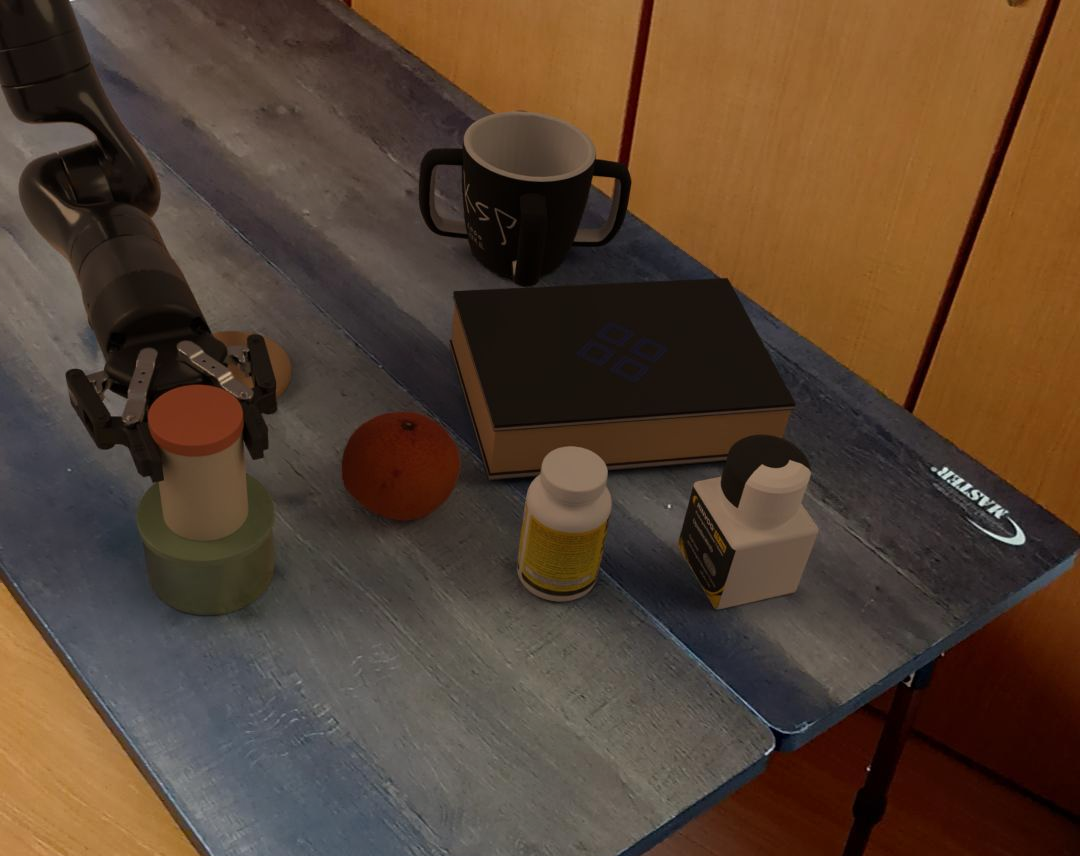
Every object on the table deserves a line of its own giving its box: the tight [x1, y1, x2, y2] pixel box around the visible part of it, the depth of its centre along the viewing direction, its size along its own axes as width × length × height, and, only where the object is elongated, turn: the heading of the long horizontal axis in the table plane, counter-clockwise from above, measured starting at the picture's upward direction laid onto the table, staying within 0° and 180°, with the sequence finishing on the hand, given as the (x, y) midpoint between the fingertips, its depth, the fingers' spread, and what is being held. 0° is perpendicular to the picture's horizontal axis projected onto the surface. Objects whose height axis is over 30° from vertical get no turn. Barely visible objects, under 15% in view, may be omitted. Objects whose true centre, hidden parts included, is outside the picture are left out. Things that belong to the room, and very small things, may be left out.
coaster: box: [211, 330, 292, 399], centre depth 112 cm, size 10×10×1 cm
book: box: [448, 277, 797, 481], centre depth 112 cm, size 17×25×7 cm
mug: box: [418, 110, 633, 288], centre depth 124 cm, size 16×16×12 cm
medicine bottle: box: [677, 435, 819, 611], centre depth 98 cm, size 7×7×12 cm
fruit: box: [341, 411, 461, 521], centre depth 101 cm, size 9×9×8 cm
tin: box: [135, 472, 276, 616], centre depth 94 cm, size 9×9×6 cm
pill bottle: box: [516, 446, 613, 603], centre depth 96 cm, size 6×6×11 cm
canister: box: [148, 385, 248, 541], centre depth 89 cm, size 6×6×9 cm
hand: (208, 460), depth 86 cm, fingers closed on canister, 6 cm apart
